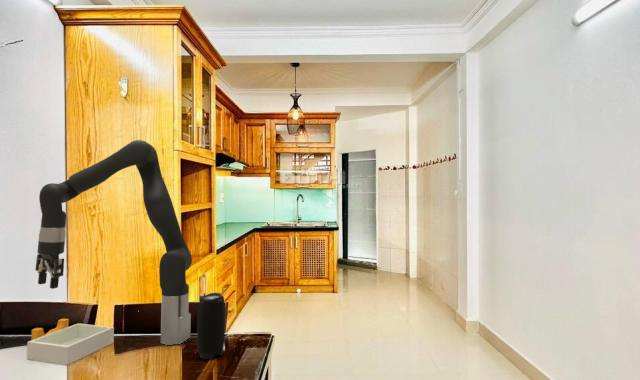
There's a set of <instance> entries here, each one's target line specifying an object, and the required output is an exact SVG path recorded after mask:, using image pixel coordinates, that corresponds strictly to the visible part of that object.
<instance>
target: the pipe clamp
mask: <svg viewBox="0 0 640 380" xmlns="http://www.w3.org/2000/svg"><path fill="white" fill-rule="evenodd" d="M69 320H70V319H69V318H61V319H58V320H57V325H56V327H55V328H52V329H49V331H48V332H46V333H45V331H44V328H43V327H35V328H33V329H31V338H30V339H31V340H34V339H37V338H40V337H42V336H45V335H48V334H50V333H53V332H56V331H59V330H61V329H64V328H67V327H69V322H70V321H69ZM31 340H30V341H31Z"/></svg>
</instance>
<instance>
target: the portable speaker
mask: <svg viewBox="0 0 640 380" xmlns="http://www.w3.org/2000/svg"><path fill="white" fill-rule="evenodd" d="M198 301H199V303H198V310H197V317H196V318H197V319H196V320H197V322H196V327H197V328H196V330H197V332H196V336H197V337H196V339H197V354H198V355H199V359H201V358H203V359H202V360H204V359H211V360H212V359H213V358H214V357H216V356H220V355H221V354H222V353H223V352H224V348H225V347H224V345H225V340H226V339H225V338H226V337H225V336H226V332H225V331H226V307H225V304H226V303H225V297H224V296H223V295H222V294H221V293H220V292H210V293H208V294H205V295H200V296H199V300H198ZM223 354H224V353H223ZM221 356H222V355H221Z"/></svg>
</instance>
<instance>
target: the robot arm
mask: <svg viewBox="0 0 640 380" xmlns="http://www.w3.org/2000/svg"><path fill="white" fill-rule="evenodd" d="M133 166H136V169H137V171H138V174H139V176H140V177H141V178H140V179H141V181H142V182H141V183H142V194H143V195H142V196H143V197H142V198H143V205H144V209H145V212H146V213H147V217H148V219H149V222H150V223H151V224H152V226H153V228H154V229H155V230H156V232H157V233H158V234H159V236H160V238H161V240H162V241H163V243H164V244H163V245H164V247H165V251H166V252H165V253H164V254H163V255H162V256H161V258H160V260H159V273H158V274H159V287H160V290H161V306H160V307H161V309H160V310H161V312H160V313H161V314H160V316H161V317H160V344H161V343H162V344H165V345H164V346H166V345H173V344H181V343H183V342H184V341H186V340H187V339H188V338H190V339H191V329H192V328H191V321H192V320H191V319H192V318H191V317H192V313H190V312H189V307H190V306H189V301H190V299H189V298H190V296H189V295H190V294H189V293H190V285H189V283H187V280H186V278H187V277H186V271H188V270H189V269H190V267H191V266H192V263H193V258H192V254H191V251H190V249H189V247H188V245H187V242H186V241H185V238H184V236H183V233H182V231H181V227H180V224H179V220H178V216H177V214H176V211H175V207H174V204H173V201H172V198H171V195H170V194H169V190H168V188H167V185H166V183H165V181H164V177H163V175H162V172H161V166H160V162H159V157H158V153H157V150H156V148H155V147H154V146H153V145H151V144H150V143H149V142H147V141H145V140H142V139H135V140H133V141H131V142H129V143H128V144H125V146H123V147H122V148H120V149H119V150H117V151H115V152H114V153H112V154H111V155H109V156H107V157H106V158H103V159H102V160H100V161H98V162H96V163H95V164H92V165H90V166H89V167H86V168H83V169H81V170H79V171H78V172H75V173H73V174H71V175H70V176H69V178H68V179H66V180H65V181H63V182H60V183H54V182H53V183H52V182H51V183H47V184H45V185H43V186H42V188H41V189H40V192H39V196H38V197H39V207H40V211H41V221H40V223H41V224H40V229H39V233H38V243H37V255H36V261H35V268H34V269H35V271H36V272H37V274H38V279H37V285H44V284H46V283H47V279H48V278H47V277H48V273H49V275H50V281H49V289H51V290H53V289H57V288H58V287H59V279H60V278H61V277H63V276H64V269H65V268H64V267H65V259H64V258H60V254H64V253H65V244H66V236H67V235H66V234H67V233H66V232H67V231H66V225H67V224H66V223H67V213H66V212H65V211H64V210H63V204H64V203H67V202H69V201H71V200H73V199H74V198H77V197H78V196H80V195H81V194H82V193H84V192H87V191H88V190H91V189H92V188H95V187H97V186H99V185H101V184H103V183H104V182H105V181H107V180H108V179H109V178H111V177H112V176H114V175H115V174H116V173H118V172H120V171H122V170H124V169H127V168H130V167H133ZM186 342H187V341H186ZM162 344H161V345H162ZM183 344H184V343H183ZM181 345H182V344H181ZM173 346H174V345H173Z"/></svg>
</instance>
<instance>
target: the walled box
mask: <svg viewBox="0 0 640 380" xmlns="http://www.w3.org/2000/svg"><path fill="white" fill-rule="evenodd" d="M114 331H115V327H113V326H104V325H96V324H87V323H76V324H73V325H70V326H68V327H67V328H64V329H61V330H59V331H56V332H53V333H50V334H48V335H45V336H42V337H40V338H37V339H34V340H29V341H27V345H26V348H27V349H26V352H27V353H26V360H31V361H37V362H42V363H43V362H44V363H50V364H56V365H63V366H64V365H65V366H68V365H70V364H72V363H75V362H77V361H79V360H81V359H82V358H85V357H87V356H89V355H91V354H93V353H96V352H97V351H99V350H102V349H104V348H106V347H108V346H110V345H113V344H114V341H115V340H114V338H115V337H114V335H115V332H114Z"/></svg>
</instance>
